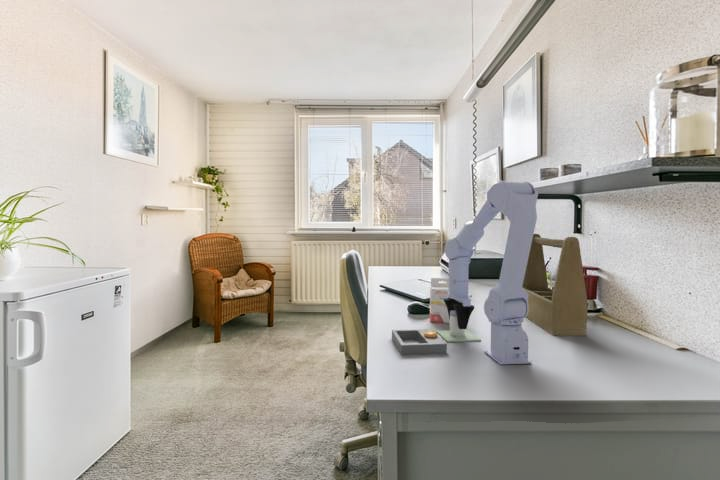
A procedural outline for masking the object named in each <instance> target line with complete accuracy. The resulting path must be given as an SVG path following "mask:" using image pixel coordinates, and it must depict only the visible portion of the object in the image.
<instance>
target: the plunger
mask: <svg viewBox="0 0 720 480" xmlns="http://www.w3.org/2000/svg"><path fill="white" fill-rule="evenodd" d="M437 335H438V333H437V331H434V332H425V333H424V336H425V337H426V338H437Z"/></svg>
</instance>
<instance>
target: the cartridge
mask: <svg viewBox="0 0 720 480" xmlns="http://www.w3.org/2000/svg"><path fill="white" fill-rule="evenodd" d="M449 330H450V335H451V336H453V337H464V336H465V330H466V329H459V327H458V321H457V314H456V311H455V310H451V311H450V323H449Z"/></svg>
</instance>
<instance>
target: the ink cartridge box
mask: <svg viewBox="0 0 720 480" xmlns="http://www.w3.org/2000/svg"><path fill="white" fill-rule="evenodd" d="M441 282H443V283H441ZM429 288H430V289H429V290H430V291H429V295H430V296H429V320H430V323H437V324H438V323H439V324H443V323H444V324H450V319H449V314H448V310H447V307H446V304H445V302H444V299H448V298H449V297H447V291H449V277H448V278H447V277H432V278H430V287H429Z"/></svg>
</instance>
